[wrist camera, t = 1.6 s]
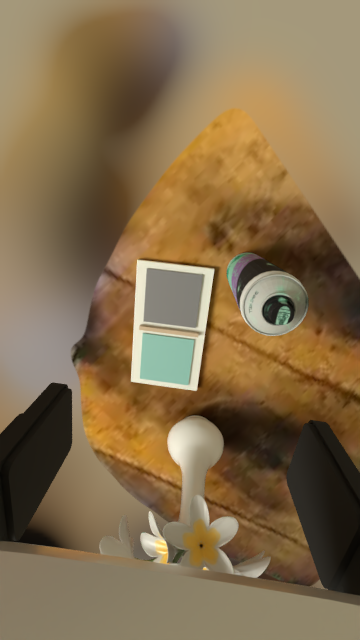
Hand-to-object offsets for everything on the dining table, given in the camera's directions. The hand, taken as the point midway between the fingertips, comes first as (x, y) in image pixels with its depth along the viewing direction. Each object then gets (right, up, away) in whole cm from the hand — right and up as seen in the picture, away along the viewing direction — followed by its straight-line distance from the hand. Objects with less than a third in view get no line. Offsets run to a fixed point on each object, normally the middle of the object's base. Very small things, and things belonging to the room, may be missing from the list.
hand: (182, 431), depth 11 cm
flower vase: (+2, -15, +38) cm, 41 cm away
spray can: (+9, +11, +28) cm, 32 cm away
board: (-2, +3, +32) cm, 32 cm away
